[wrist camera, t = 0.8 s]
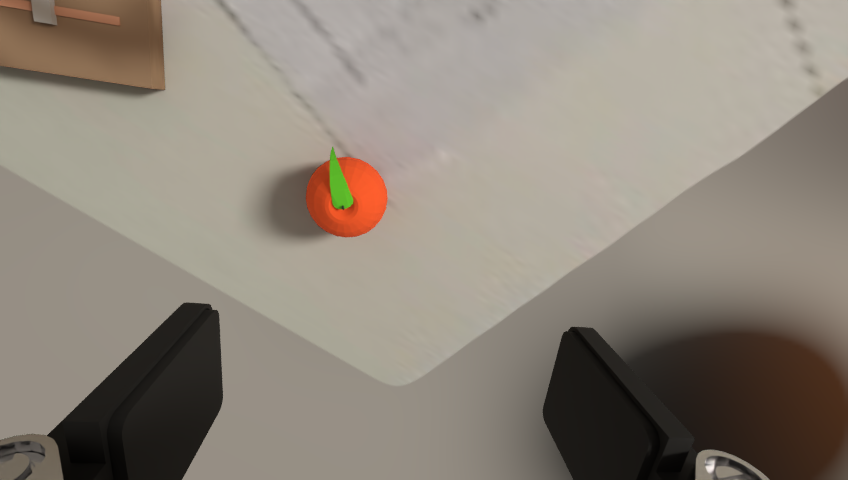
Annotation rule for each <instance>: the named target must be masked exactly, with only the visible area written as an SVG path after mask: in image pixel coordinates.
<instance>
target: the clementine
mask: <svg viewBox="0 0 848 480" xmlns="http://www.w3.org/2000/svg"><path fill="white" fill-rule="evenodd" d="M306 202H307V208H308V210H309V212H310V215H311V217H312V218H313V220H314V221H315V222H316V223H317V225H318V226H320V227H321V228H322V229H324V230H325V231H326V232H328V233H331V234H333V235H335V236H341V237H356V236H359V235H362V234H365V233H367V232H368V231H370V230H371V229H373V228H374V227H375V226H376V224H377V223H378V222H379V221H380V220H381V218H382V216H383V214H384V212H385V210H386V205H387V189H386V187H385V184H384V181H383V179H382V178H381V176H380V175H379V173H378V172H377V171H376V170H375V169H374V168H373V167H372V166H370V165H369V164H368V163H366V162H364V161H362V160H360V159H355V158H350V157H342V158H336V155H335V152H334V149H333V147H332V150H331V155H330V160H329V161H327V162H325V163H324V164H322V165H321V166H320V167H318V168H317V170H316V171H315V172H314V173H313V175H312V176H311V178H310V181H309V183H308V186H307V192H306Z"/></svg>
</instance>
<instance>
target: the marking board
mask: <svg viewBox="0 0 848 480" xmlns="http://www.w3.org/2000/svg"><path fill="white" fill-rule="evenodd" d="M0 66H6V67H12V68H19V69H26V70H32V71H39V72H45V73H52V74H58V75H65V76H72V77H78V78H85V79H91V80H98V81H105V82H111V83H118V84H124V85H131V86H137V87H144V88H151V89H162V90H165V77H164V56H163V35H162V13H161V0H0Z"/></svg>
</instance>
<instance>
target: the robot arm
mask: <svg viewBox="0 0 848 480" xmlns="http://www.w3.org/2000/svg"><path fill="white" fill-rule="evenodd" d="M222 389H223V388H222V367H221V347H220V325H219V313H218V311H217V310H212V307H211V305H210V304H201V303H183V304H182V305H181V306H180V307H179V308H178V309H177V310H176V311H175V312H174V313H173V314H172V315H171V316H170V317H169V318H168V319H167V320H166V321H164V322H163V323H162V324H161V325H160V326H159V327H158V328H157V329H156V330H155V331H154V332H153V333H152V334H151V335H150V336H149V337H148V338H147V339H146V340H145V341H144V342H143V343H142V344H141V345H140V346H139V347H138V348H137V349H136V350H135V351H134V352H133V353H132V354H131V355H129V356H128V358H127V359H125V360H124V361H123V362H122V363H121V364H120V365H119V366H118V367H117V368H116V369H115V370H114V371H113V372H112V373H111V374H110V375H109V376H108V377H107V378H106V379H105V380H104V381H103V382H102V383H101V384H100V385H99V386H98V387H96V388H95V389H94V390H93V391H92V392H91V393H90V394H89V395H88V396H87V397H86V398H85V399H84V400H83V401H82V402H81V403H80V404H79V405H78V406H77V407H76V408H75V409H74V410H73V411H72V412H71V413H70V414H69V415H68V416H67V417H66V418H65V419H64V420H63V421H61V422H60V423H59V425H57V426H56V427H55V428H54V429H53V430H52V431H51V432H50V433H49V434H48V435H47V436H46V435H39V434H26V435H18V436H13V437H9V438H5V439H2V440H0V480H182V478H183V477H184V475H185V473H186V471H187V469H188V468H189V466H190V464H191V462H192V460H193V458H194V456H195V455H196V453H197V451H198V449H199V448H200V446H201V444H202V442H203V440H204V438H205V437H206V435H207V433H208V431H209V429H210V427H211V426H212V424H213V422H214V420H215V418H216V416H217V415H218V413H219V411H220V408H221V405H222V400H223V390H222ZM543 417H544V421H545V423H546V425H547V427H548V429H549V431H550V433H551V435H552V437H553V439H554V441H555V443H556V445H557V447H558V449H559V451H560V453H561V455H562V457H563V459H564V461H565V463H566V465H567V468H568V469H569V472H570V473H571V475H572V478H573V480H769V479H768V478H767V477H766V476H765V475H764V474H762V473H761V472H760V471H759V470H757V469H756V468H754V467H753V466H751V465H750V464H749V463H746V462H745V461H743V460H741V459H739V458H737V457H735V456H733V455H730V454H728V453H725V452H721V451H716V450H703V451H702V452H700V453H698V454H697V453H696V451H695V450H694V449H693V448H692V447H691V446H692V443H693V442H694V439H695V438H694V437H693V436H692V435H691V434H690V433H689V431H688V430H687V429H686V428H685V427H684V426H683V425H682V424H681V423H680V422H679V421H678V419H677V418H676V417H675V416H674V415H673V414H672V413H671V412H670V411H669V410H668V409H667V408H666V406H664V404H662V402H661V401H660V400H659V399H658V398H657V397H656V396H655V395H654V393H653V392H652V391H651V390H650V389H649V388H648V387H647V386H646V385H645V384H644V383H643V382H642V381H641V379H640V378H639V377H638V376H637V375H636V374H635V373H634V372H633V371H632V370H631V369H630V367H629V366H628V365H627V364H626V363H625V362H624V361H623V360H622V359H621V358H620V357H619V356H618V355H617V353H616V352H615V351H614V350H613V349H612V348H611V347H610V346H609V345H608V344H607V343H606V342H605V340H604V339H603V338H602V337H601V336H600V335H599V334H598V333H597V332H596V331H595V330H594V329H593V328H585V327H571V328H570V329H569V330H568V332H567V331H566V332H564V333H563V335H562V339H561V342H560V346H559V350H558V354H557V358H556V361H555V365H554V369H553V372H552V376H551V380H550V384H549V388H548V392H547V395H546V399H545V403H544V407H543Z"/></svg>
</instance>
